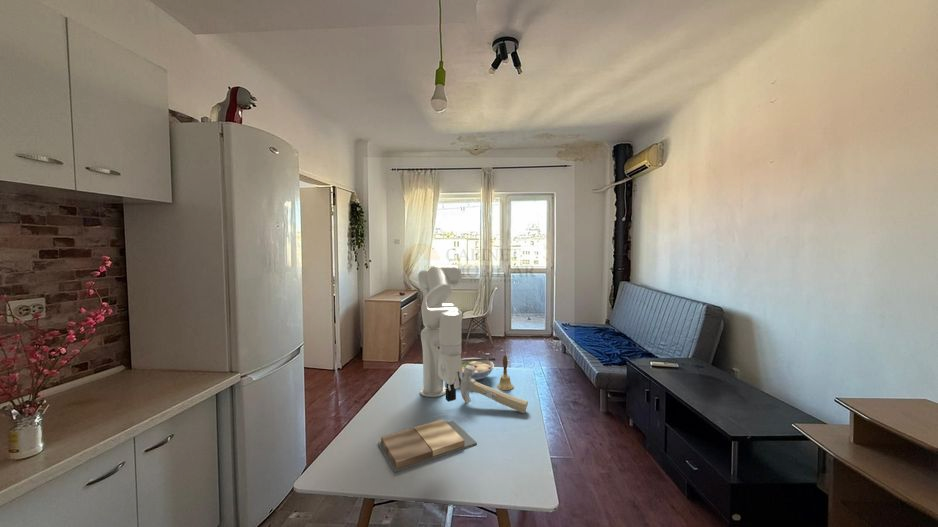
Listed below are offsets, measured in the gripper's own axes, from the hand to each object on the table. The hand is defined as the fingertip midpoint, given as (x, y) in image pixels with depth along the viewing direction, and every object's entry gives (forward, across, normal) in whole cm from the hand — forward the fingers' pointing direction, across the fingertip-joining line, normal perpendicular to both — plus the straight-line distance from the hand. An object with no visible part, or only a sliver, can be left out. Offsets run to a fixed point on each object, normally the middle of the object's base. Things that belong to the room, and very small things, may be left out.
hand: (450, 399), depth 120 cm
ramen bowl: (+18, -49, +38) cm, 65 cm away
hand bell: (+18, -31, +46) cm, 59 cm away
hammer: (+18, -17, +29) cm, 38 cm away
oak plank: (+16, -5, -2) cm, 17 cm away
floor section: (+17, -5, -7) cm, 19 cm away
